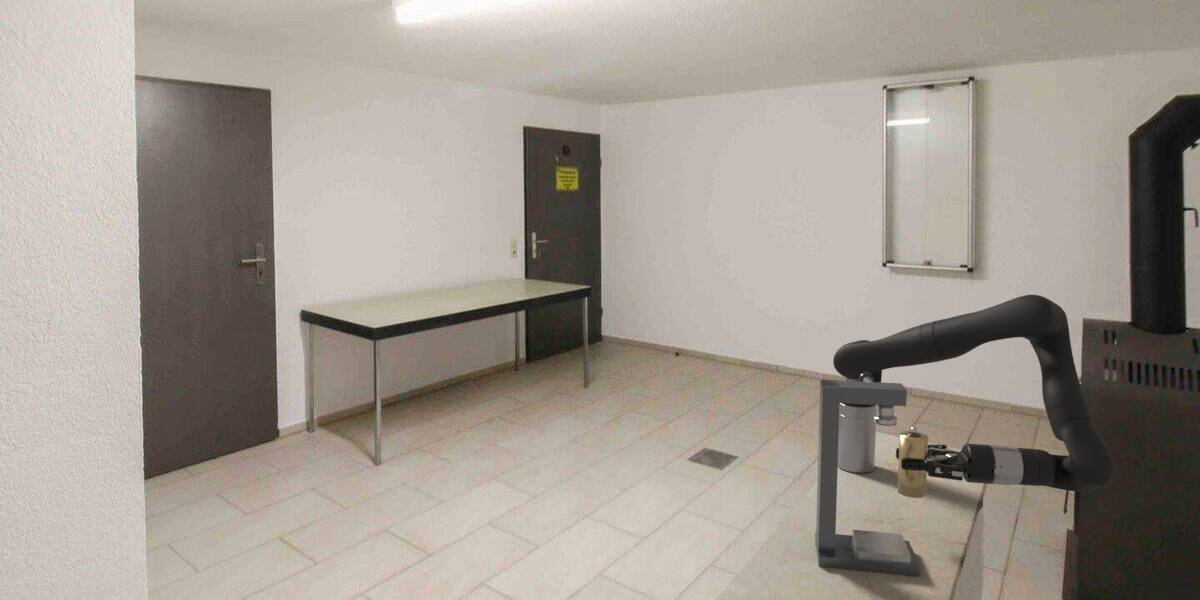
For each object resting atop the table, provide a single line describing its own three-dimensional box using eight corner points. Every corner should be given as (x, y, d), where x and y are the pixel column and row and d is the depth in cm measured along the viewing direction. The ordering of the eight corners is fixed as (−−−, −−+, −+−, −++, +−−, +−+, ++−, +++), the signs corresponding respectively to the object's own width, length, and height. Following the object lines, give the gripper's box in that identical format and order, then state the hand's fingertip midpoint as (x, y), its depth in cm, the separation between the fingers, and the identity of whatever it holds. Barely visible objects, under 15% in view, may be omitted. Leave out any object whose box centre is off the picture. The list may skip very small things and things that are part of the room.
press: (900, 532, 142) (907, 371, 138) (919, 576, 125) (928, 394, 121) (812, 524, 146) (816, 368, 142) (818, 566, 129) (823, 389, 125)
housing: (891, 489, 141) (894, 425, 139) (912, 486, 142) (915, 422, 141) (909, 499, 136) (912, 432, 134) (931, 495, 137) (934, 430, 136)
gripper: (981, 434, 141) (893, 429, 145) (1004, 458, 127) (906, 452, 131) (979, 469, 142) (891, 463, 146) (1002, 497, 128) (904, 490, 132)
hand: (899, 458), depth 139 cm, fingers closed on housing, 5 cm apart
